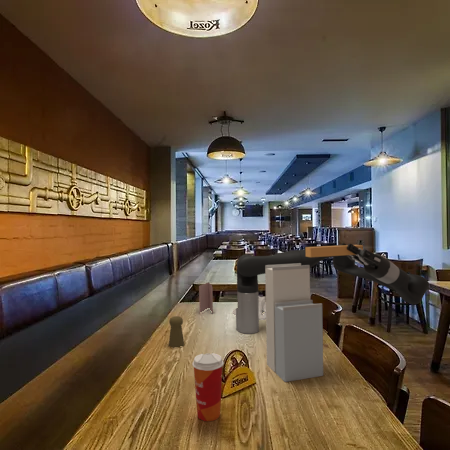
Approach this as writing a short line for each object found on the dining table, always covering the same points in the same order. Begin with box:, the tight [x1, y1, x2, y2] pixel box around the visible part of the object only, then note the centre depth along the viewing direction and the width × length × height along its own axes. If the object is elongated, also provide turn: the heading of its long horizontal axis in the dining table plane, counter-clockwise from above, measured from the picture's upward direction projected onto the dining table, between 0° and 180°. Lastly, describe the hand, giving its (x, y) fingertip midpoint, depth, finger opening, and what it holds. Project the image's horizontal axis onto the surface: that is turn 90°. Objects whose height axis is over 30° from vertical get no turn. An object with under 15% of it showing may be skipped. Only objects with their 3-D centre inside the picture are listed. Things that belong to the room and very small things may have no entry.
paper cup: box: [192, 352, 224, 422], centre depth 83 cm, size 8×8×14 cm
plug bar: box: [305, 244, 364, 257], centre depth 111 cm, size 20×3×3 cm, turn 108°
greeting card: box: [198, 282, 214, 314], centre depth 179 cm, size 11×7×15 cm, turn 157°
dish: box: [232, 295, 266, 321], centre depth 176 cm, size 25×25×11 cm
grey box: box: [275, 299, 324, 383], centre depth 104 cm, size 13×6×22 cm, turn 107°
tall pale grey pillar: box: [264, 263, 311, 373], centre depth 111 cm, size 13×6×33 cm, turn 107°
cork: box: [168, 315, 185, 348], centre depth 131 cm, size 6×6×11 cm
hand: (344, 245), depth 112 cm, fingers closed on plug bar, 3 cm apart
